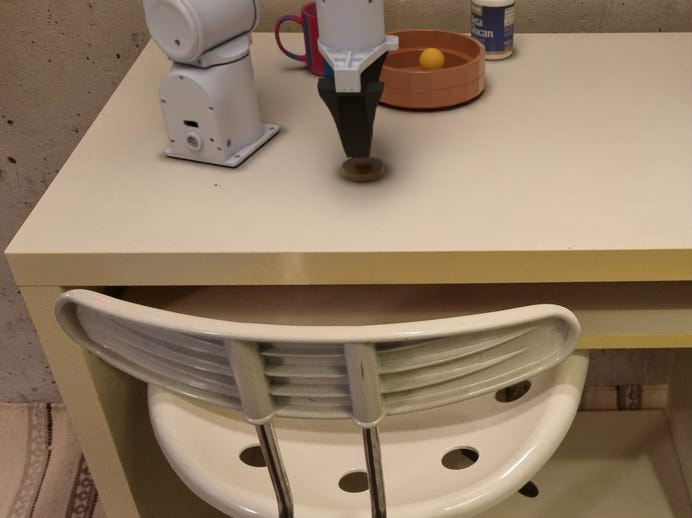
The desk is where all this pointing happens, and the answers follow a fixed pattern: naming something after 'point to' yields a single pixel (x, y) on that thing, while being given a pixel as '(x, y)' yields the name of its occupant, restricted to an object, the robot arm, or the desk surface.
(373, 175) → the stick
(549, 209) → the desk surface
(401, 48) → the bowl
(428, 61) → the ball
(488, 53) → the pill bottle
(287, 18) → the mug
